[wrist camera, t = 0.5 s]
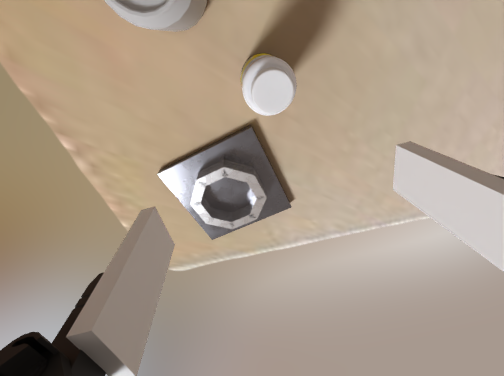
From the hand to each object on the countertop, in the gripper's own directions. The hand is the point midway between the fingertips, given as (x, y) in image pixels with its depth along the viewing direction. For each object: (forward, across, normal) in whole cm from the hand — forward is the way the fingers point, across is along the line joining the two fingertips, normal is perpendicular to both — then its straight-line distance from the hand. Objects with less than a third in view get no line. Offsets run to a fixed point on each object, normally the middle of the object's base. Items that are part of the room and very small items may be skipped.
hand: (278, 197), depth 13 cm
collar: (+24, -6, -11) cm, 27 cm away
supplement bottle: (+22, +3, +5) cm, 23 cm away
